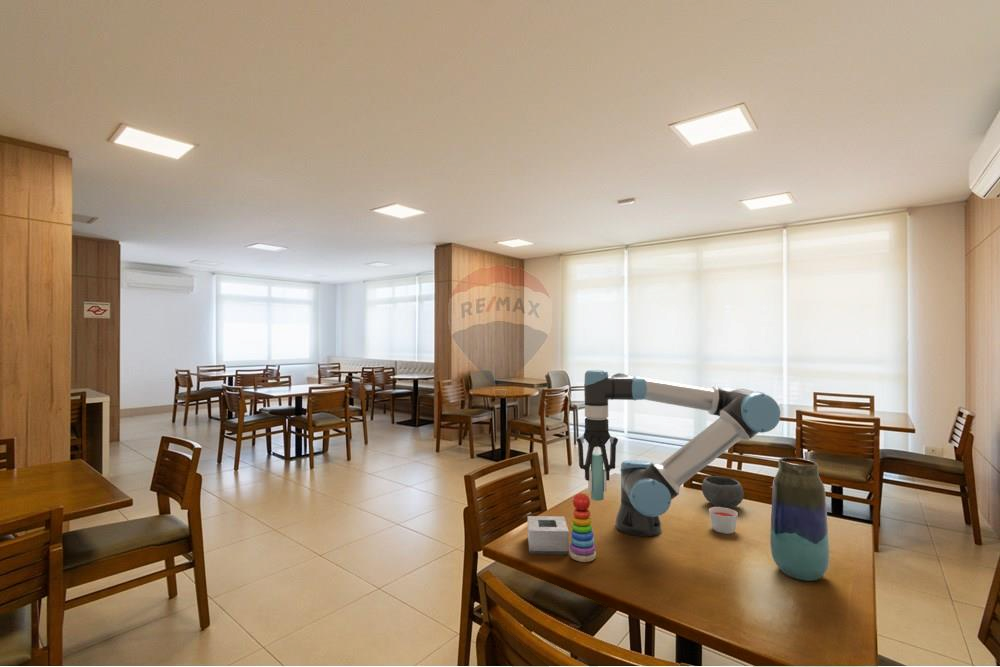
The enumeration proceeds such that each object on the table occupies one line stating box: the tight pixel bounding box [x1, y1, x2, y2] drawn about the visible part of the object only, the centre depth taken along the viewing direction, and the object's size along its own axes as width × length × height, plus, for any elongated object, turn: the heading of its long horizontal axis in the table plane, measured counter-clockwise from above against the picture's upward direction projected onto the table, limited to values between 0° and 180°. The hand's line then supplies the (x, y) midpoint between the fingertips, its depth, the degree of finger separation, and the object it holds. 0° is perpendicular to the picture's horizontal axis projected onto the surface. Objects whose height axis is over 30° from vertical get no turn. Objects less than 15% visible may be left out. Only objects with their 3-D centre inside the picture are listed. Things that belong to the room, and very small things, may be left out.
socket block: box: [527, 515, 570, 556], centre depth 145 cm, size 12×12×7 cm
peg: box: [590, 453, 605, 502], centre depth 148 cm, size 4×4×14 cm
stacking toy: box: [569, 492, 597, 563], centre depth 137 cm, size 8×8×19 cm
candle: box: [708, 506, 739, 535], centre depth 158 cm, size 9×9×6 cm
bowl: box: [701, 475, 745, 509], centre depth 181 cm, size 15×15×10 cm
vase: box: [770, 457, 831, 582], centre depth 128 cm, size 14×14×31 cm
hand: (597, 490), depth 148 cm, fingers closed on peg, 4 cm apart
